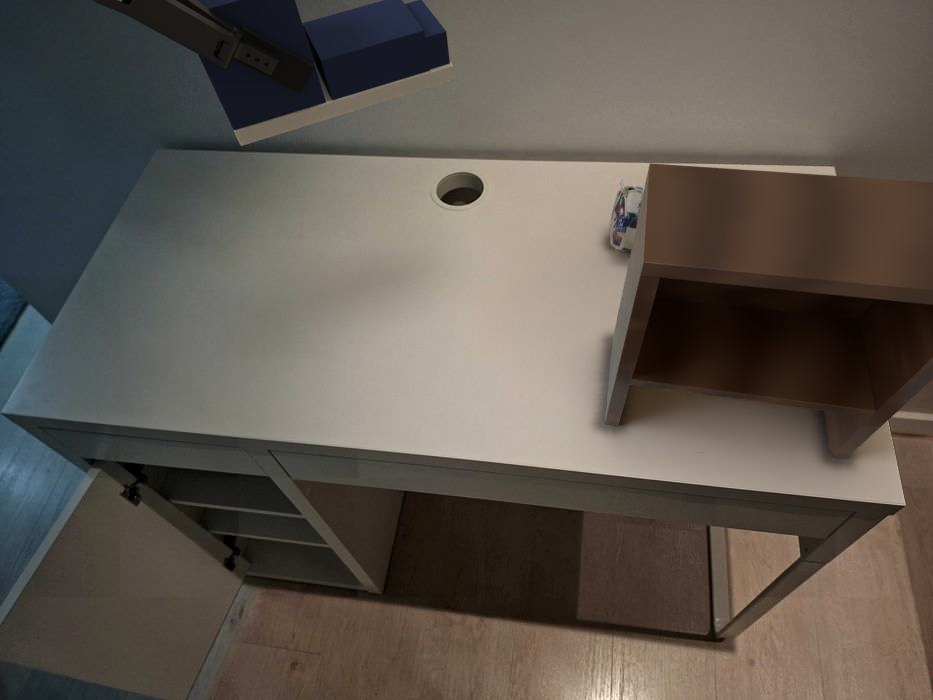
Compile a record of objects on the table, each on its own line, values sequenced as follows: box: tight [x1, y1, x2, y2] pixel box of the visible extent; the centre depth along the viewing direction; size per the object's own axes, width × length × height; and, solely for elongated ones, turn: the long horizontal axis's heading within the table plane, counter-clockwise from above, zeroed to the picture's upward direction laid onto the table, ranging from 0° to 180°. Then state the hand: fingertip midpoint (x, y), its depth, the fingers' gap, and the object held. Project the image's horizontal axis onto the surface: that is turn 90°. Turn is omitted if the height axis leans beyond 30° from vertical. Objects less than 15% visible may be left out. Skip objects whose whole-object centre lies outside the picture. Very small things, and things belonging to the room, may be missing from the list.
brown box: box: [604, 163, 933, 460], centre depth 59 cm, size 26×12×28 cm, turn 78°
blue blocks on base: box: [197, 0, 456, 147], centre depth 55 cm, size 22×8×12 cm, turn 112°
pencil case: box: [609, 178, 644, 252], centre depth 80 cm, size 22×8×10 cm, turn 84°
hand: (296, 56), depth 56 cm, fingers closed on blue blocks on base, 8 cm apart
